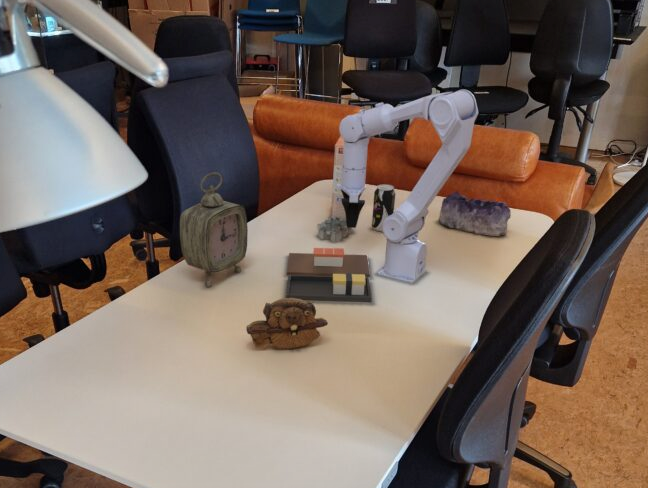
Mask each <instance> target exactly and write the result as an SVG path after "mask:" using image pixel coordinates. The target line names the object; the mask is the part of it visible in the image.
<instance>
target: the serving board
mask: <svg viewBox="0 0 648 488" xmlns="http://www.w3.org/2000/svg"><path fill="white" fill-rule="evenodd" d="M287 262H288V263H287V268H286V270H287V271H286V276H288V275H314V276H333V274H346V273H351V274H364V275H365V277H369V279H370V278H371V271H370V263H369V255H368V254H345V253H344V258H343V266H342V267H334V266H314V253H309V252H307V253H306V252H305V253H302V252H289V253H288V260H287Z"/></svg>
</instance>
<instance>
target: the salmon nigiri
mask: <svg viewBox="0 0 648 488" xmlns="http://www.w3.org/2000/svg"><path fill="white" fill-rule="evenodd" d="M313 254H314V266H334V267H342V266H343V258H344V254H345V249H344V248H339V247H338V248H337V247H313Z"/></svg>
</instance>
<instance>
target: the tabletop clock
mask: <svg viewBox="0 0 648 488" xmlns="http://www.w3.org/2000/svg"><path fill="white" fill-rule="evenodd" d="M213 176H217V178H219V183H218V185H216V186H214V185H212V184H211V185H209V187H208V189H204V188H203V185H204V183H205V181H206V180H207V179H208V178H210V177H213ZM222 183H223V177H222V175H221V174H220V173H219V172H210V173H207V174H206V175H205V176H204V177H203V178H202V179H201V182H200V185H199V186H200V190H201V192H203V193H205V194H204V195H203V196H202V198H201V200H200V203H198V204H194V205H193V206H191V207H189V208H187V209H185V210H184V211H182V212H181V213H180V218H179V236H180V237H179V240H180V247H181V248H180V249H181V254H182V256H183V258H184V261H185V263H186V264H187V265H188V266H189V267H192V268H196V269H199V270H202V271H204V273H205V275H206V280H205V281H204V285H205V287H206V288H210V287H211V286H212V285H213V284H212V281H211V280H210V276H212V274H217V273H220V272H224V271H226V270H229V269H230V268H232V267H234V272H235V273H241V272H242V267H241V266H239V265H238V264H239V263H240V262H242V261H243V260H244V258H245V257H246V255H247V250H248V232H249V231H248V230H249V229H248V218H247V212H246V209H245V206H244V205H240V204H237V203H233V202H229V201H226V200H224V199H223V197H222V196H221V194H219V193H217V192H216V191H218V189H220V187H221V186H222Z"/></svg>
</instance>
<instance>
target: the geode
mask: <svg viewBox="0 0 648 488" xmlns="http://www.w3.org/2000/svg"><path fill="white" fill-rule="evenodd" d="M511 213H512V212H511V209H510V208H509V206H508V204H507V202H506V201H495V200H491V199H490V200H484V199H482V198H475V197H474V198H471V199H469V200H468V198H467V196H465V195H461V194H460V192H459V191H457V190H455V191H454V192H453V193H452V194H451V193H450V194H448V195H447V196H446V197H444V198H443V200H442V201H441V206H440V210H439V217H438V220H437V222H438V223H439V224H440V225H441V226H443V227H445V228H448V229H454V230H460V231H464V232H469V233H475V234H476V235H482V236H483V235H486V236H491V237H492V236H493V237H505V236H506V235H507V233H508V232H507V231H508V228H507V227H508V221H509V219H511V217H512V215H511Z"/></svg>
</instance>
